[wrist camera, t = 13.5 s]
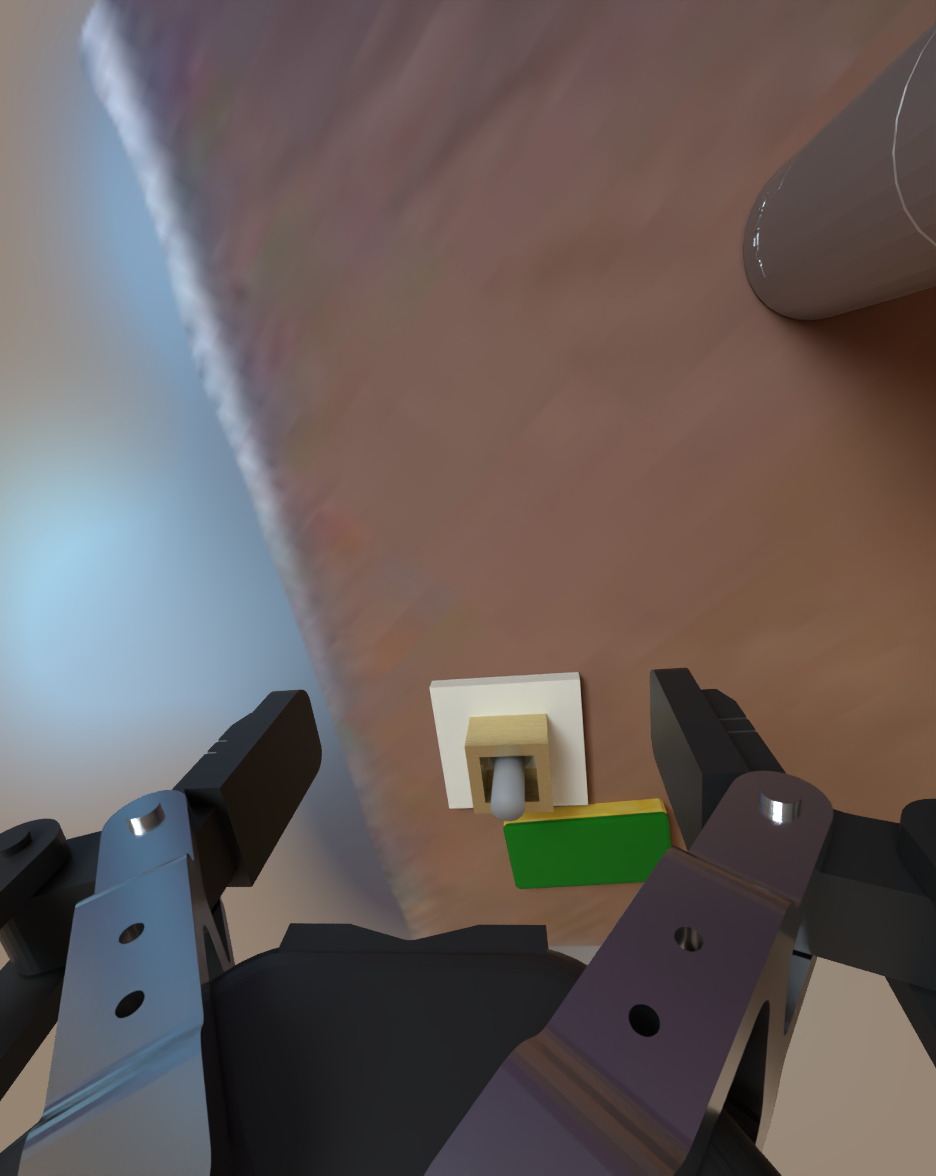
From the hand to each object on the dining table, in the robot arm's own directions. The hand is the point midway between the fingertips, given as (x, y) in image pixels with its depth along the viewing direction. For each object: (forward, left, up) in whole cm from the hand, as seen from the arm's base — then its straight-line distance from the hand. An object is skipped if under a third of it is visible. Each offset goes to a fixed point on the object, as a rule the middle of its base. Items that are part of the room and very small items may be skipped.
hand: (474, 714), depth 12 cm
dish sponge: (-4, +31, -29) cm, 42 cm away
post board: (+2, +20, -28) cm, 35 cm away
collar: (+2, +20, -27) cm, 34 cm away
